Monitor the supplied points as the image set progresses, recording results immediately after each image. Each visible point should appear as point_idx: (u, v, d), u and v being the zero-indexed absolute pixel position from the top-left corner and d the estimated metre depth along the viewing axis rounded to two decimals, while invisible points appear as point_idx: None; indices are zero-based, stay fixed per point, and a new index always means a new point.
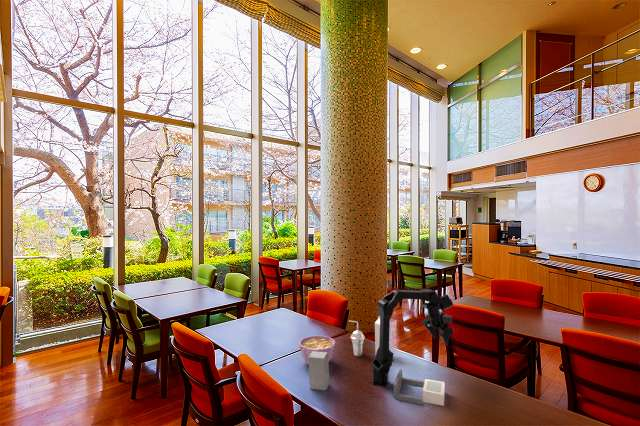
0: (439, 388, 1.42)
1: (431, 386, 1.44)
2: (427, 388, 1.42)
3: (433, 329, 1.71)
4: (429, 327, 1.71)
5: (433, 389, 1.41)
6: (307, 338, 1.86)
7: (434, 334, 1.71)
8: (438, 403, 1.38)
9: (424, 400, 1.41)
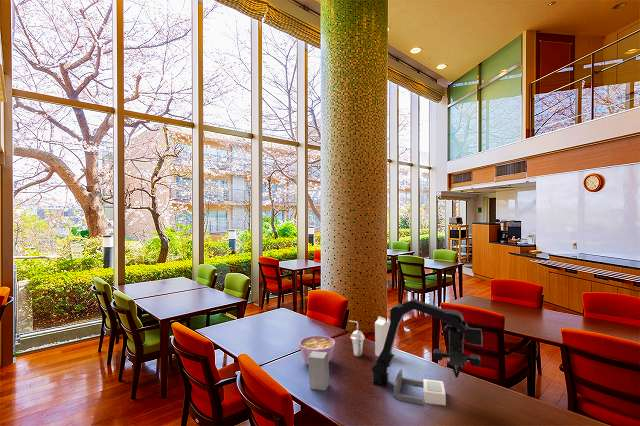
0: (439, 388, 1.42)
1: (431, 386, 1.44)
2: (428, 389, 1.42)
3: (457, 366, 1.40)
4: None
5: (434, 389, 1.41)
6: (307, 338, 1.86)
7: None
8: (440, 403, 1.38)
9: (426, 401, 1.40)
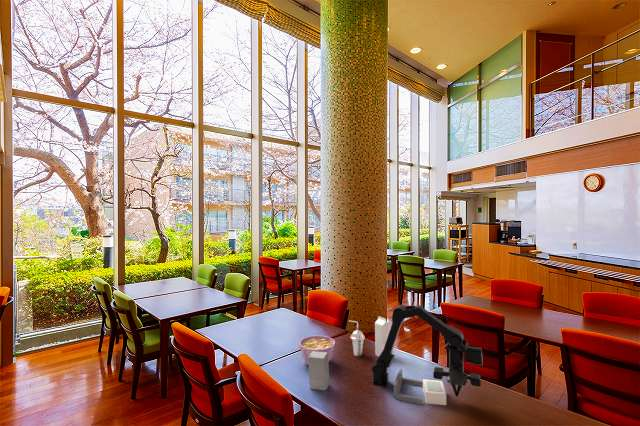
0: (439, 388, 1.43)
1: (431, 386, 1.44)
2: (428, 389, 1.42)
3: None
4: None
5: (434, 389, 1.41)
6: (307, 338, 1.86)
7: (457, 390, 1.40)
8: (441, 403, 1.38)
9: (427, 401, 1.40)
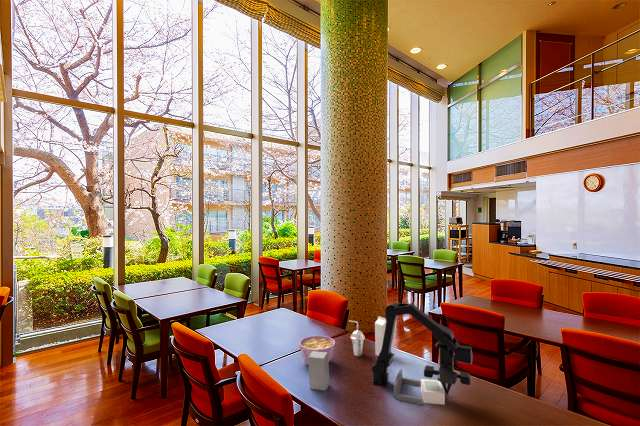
0: (438, 387, 1.43)
1: (430, 386, 1.44)
2: (427, 388, 1.42)
3: None
4: None
5: (433, 389, 1.42)
6: (307, 338, 1.86)
7: None
8: (439, 402, 1.39)
9: (425, 401, 1.40)
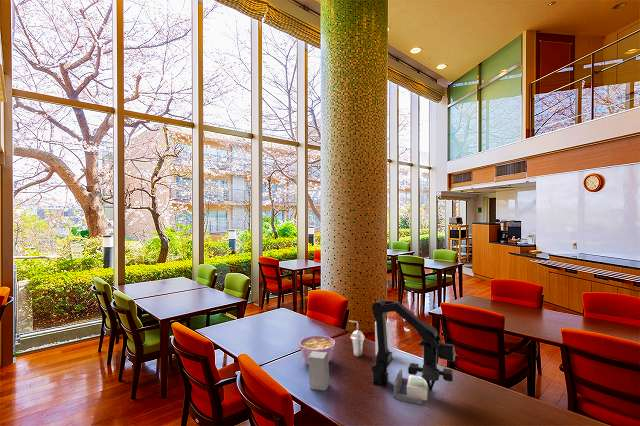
0: (422, 383, 1.46)
1: (415, 382, 1.48)
2: (411, 384, 1.46)
3: None
4: None
5: (417, 384, 1.45)
6: (307, 338, 1.86)
7: (430, 385, 1.45)
8: (421, 398, 1.42)
9: (408, 395, 1.44)
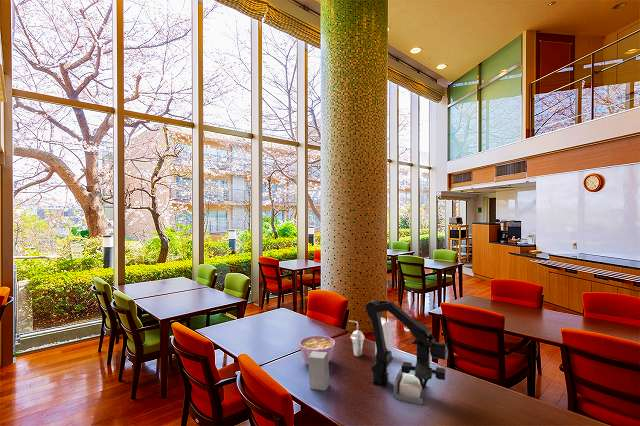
0: (415, 382, 1.48)
1: (408, 380, 1.49)
2: (404, 382, 1.48)
3: (424, 378, 1.46)
4: None
5: (409, 383, 1.47)
6: (307, 338, 1.86)
7: (423, 383, 1.46)
8: (414, 396, 1.44)
9: (401, 393, 1.46)
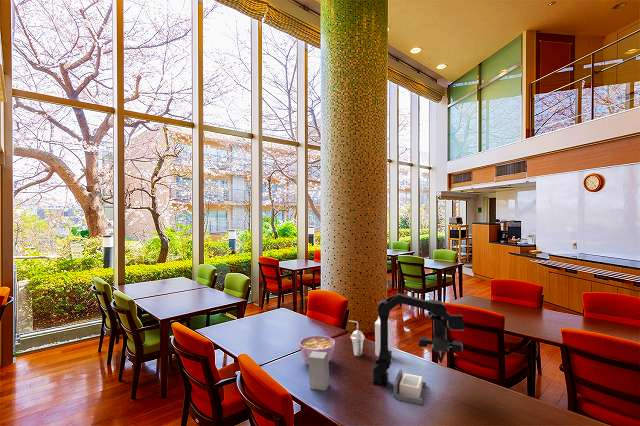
0: (415, 382, 1.48)
1: (408, 380, 1.49)
2: (404, 382, 1.48)
3: (441, 352, 1.50)
4: None
5: (409, 383, 1.47)
6: (307, 338, 1.86)
7: None
8: (414, 396, 1.44)
9: (401, 393, 1.46)
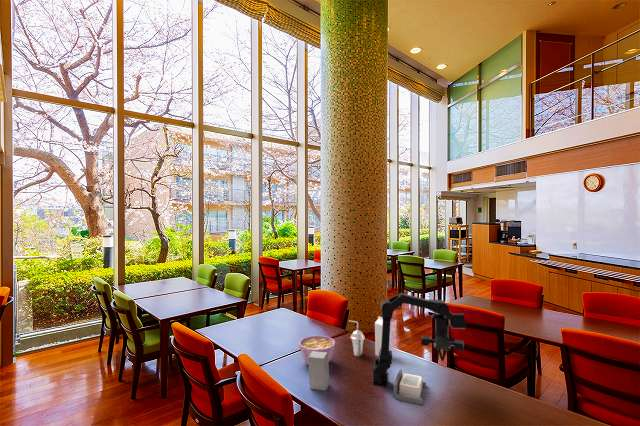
0: (415, 382, 1.48)
1: (408, 380, 1.49)
2: (404, 382, 1.48)
3: (443, 350, 1.53)
4: None
5: (409, 383, 1.47)
6: (307, 338, 1.86)
7: None
8: (414, 396, 1.44)
9: (401, 393, 1.46)
